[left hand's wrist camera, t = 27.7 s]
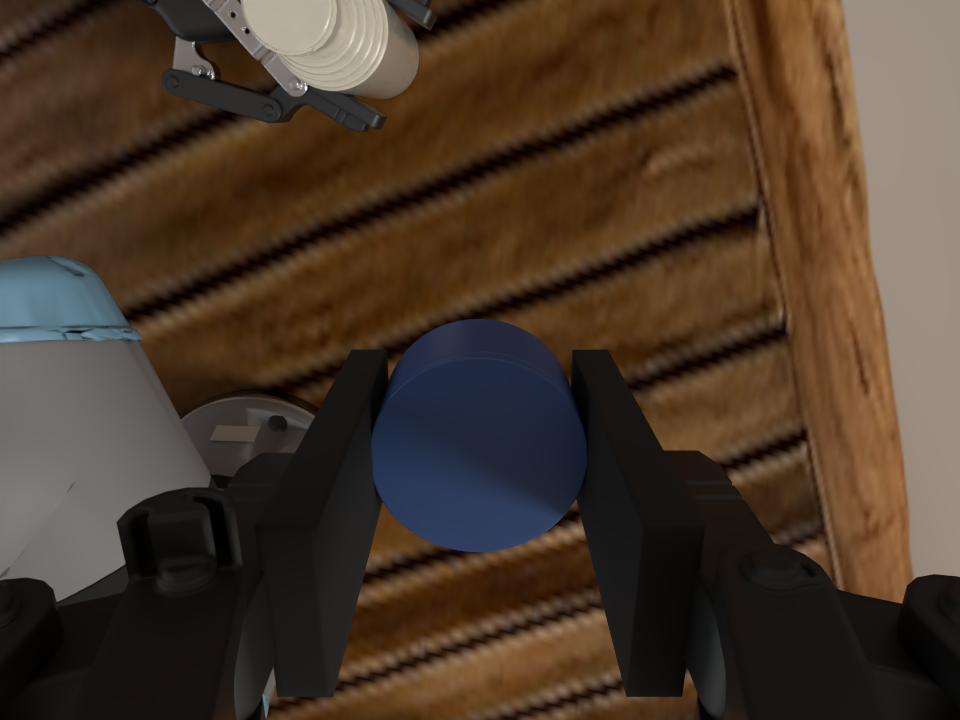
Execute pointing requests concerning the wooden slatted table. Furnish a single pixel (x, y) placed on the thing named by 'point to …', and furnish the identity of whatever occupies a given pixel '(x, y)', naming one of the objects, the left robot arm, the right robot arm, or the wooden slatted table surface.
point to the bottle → (338, 43)
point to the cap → (478, 438)
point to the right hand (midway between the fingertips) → (405, 72)
